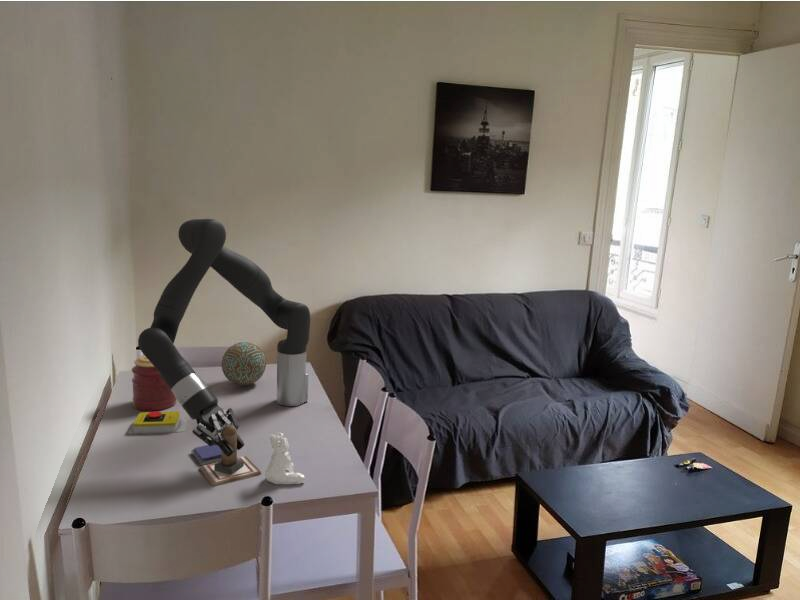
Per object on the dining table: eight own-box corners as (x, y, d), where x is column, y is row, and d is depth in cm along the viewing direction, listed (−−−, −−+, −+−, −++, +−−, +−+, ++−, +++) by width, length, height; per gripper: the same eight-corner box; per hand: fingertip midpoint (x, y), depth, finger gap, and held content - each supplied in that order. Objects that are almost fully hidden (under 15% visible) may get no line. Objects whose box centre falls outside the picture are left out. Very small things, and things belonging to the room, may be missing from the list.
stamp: (226, 462, 153) (226, 419, 151) (243, 466, 152) (244, 423, 150) (214, 470, 149) (214, 427, 146) (231, 474, 147) (232, 431, 145)
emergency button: (134, 408, 177) (188, 407, 180) (134, 422, 178) (188, 420, 181) (126, 420, 168) (183, 419, 171) (127, 435, 169) (184, 433, 172)
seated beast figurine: (307, 484, 146) (308, 437, 144) (273, 492, 142) (273, 444, 139) (291, 467, 154) (292, 423, 152) (258, 475, 149) (259, 429, 147)
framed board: (245, 458, 158) (245, 454, 158) (261, 474, 150) (261, 470, 150) (199, 468, 151) (199, 465, 151) (212, 486, 143) (212, 482, 143)
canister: (150, 415, 182) (148, 358, 179) (123, 405, 189) (121, 350, 186) (186, 402, 193) (185, 349, 190) (159, 393, 200) (158, 342, 197)
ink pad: (221, 446, 164) (221, 441, 163) (232, 458, 157) (232, 452, 157) (191, 453, 159) (191, 447, 159) (201, 465, 153) (201, 459, 152)
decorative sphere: (266, 390, 208) (266, 348, 205) (220, 392, 204) (220, 349, 201) (265, 376, 222) (265, 337, 219) (222, 378, 218) (222, 337, 216)
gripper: (184, 396, 142) (228, 454, 141) (220, 379, 155) (261, 432, 154) (166, 413, 145) (209, 471, 143) (203, 395, 158) (243, 447, 156)
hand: (236, 450), depth 149 cm, fingers closed on stamp, 3 cm apart
